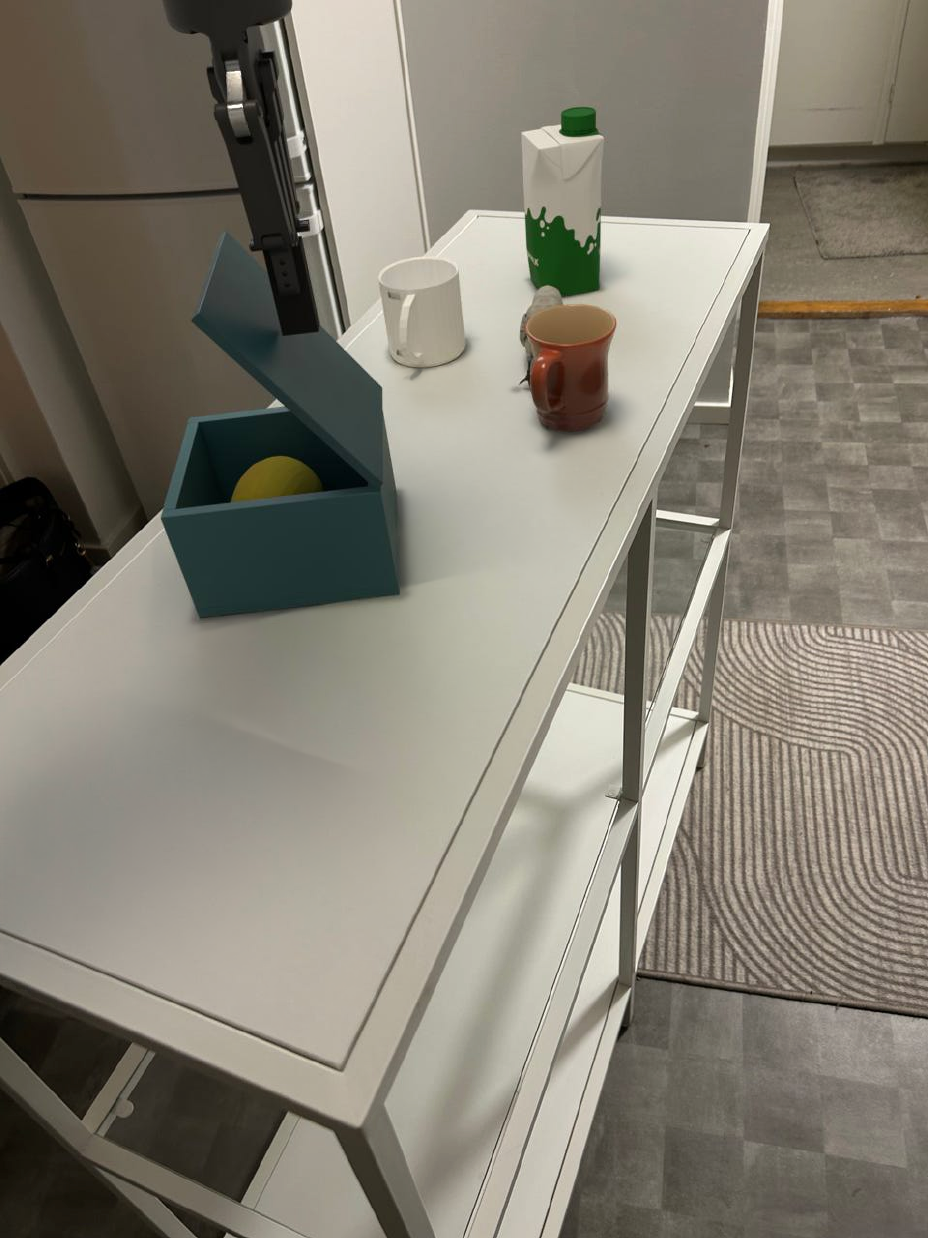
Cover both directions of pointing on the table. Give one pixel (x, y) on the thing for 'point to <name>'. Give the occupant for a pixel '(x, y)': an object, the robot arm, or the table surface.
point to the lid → (292, 360)
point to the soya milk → (564, 202)
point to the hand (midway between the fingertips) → (301, 329)
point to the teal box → (277, 520)
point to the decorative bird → (541, 301)
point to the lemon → (276, 480)
